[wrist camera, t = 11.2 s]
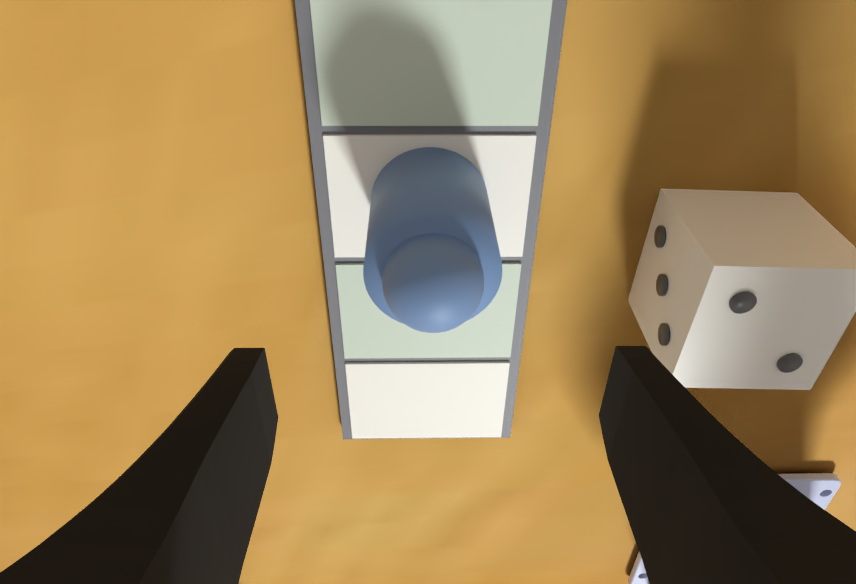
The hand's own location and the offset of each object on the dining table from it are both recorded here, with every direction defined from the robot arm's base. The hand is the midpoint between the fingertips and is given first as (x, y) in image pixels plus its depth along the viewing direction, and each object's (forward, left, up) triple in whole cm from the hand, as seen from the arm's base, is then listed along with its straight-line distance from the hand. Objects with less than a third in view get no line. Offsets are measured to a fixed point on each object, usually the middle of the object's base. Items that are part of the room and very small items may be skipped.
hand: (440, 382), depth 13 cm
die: (-2, -10, -9) cm, 13 cm away
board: (-2, 0, -9) cm, 9 cm away
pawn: (0, 0, -8) cm, 8 cm away
